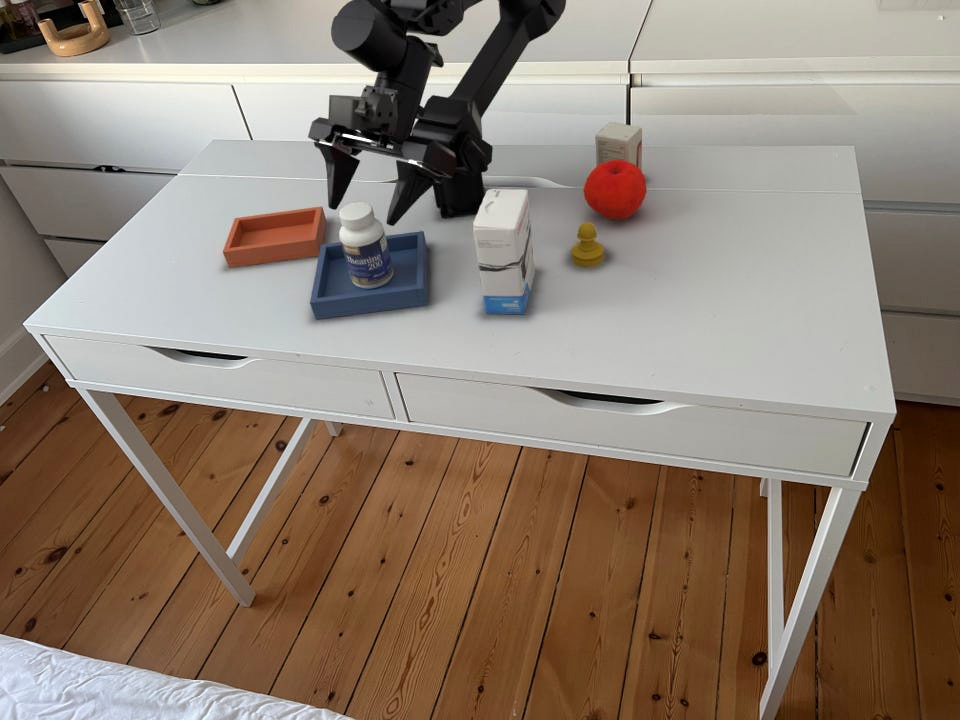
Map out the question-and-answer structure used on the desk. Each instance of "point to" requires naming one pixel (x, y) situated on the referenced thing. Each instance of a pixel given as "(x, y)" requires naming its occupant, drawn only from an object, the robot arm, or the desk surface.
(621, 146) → the small box
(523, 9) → the robot arm
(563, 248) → the desk surface
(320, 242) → the terracotta tray
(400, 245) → the blue tray
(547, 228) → the desk surface
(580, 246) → the chess piece
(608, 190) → the apple
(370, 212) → the pill bottle
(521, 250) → the ink box
